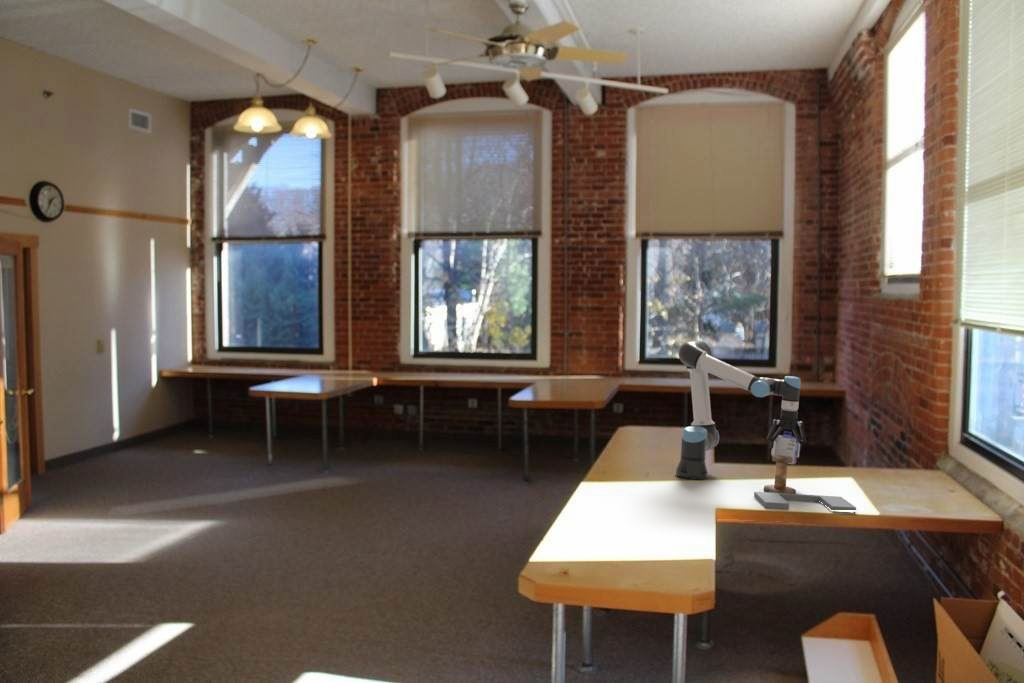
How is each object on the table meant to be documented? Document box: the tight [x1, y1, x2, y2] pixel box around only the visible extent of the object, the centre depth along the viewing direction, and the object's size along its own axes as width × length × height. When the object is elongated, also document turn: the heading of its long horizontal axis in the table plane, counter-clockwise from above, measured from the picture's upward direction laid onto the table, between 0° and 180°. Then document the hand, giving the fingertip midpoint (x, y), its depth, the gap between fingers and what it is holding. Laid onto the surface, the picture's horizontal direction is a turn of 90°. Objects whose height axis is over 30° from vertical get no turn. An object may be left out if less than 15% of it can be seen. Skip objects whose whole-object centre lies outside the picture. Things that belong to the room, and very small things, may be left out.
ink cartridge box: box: [775, 430, 799, 465], centre depth 408 cm, size 10×6×14 cm, turn 61°
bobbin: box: [763, 455, 797, 494], centre depth 396 cm, size 14×14×16 cm
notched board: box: [753, 491, 857, 511], centre depth 375 cm, size 38×18×2 cm, turn 89°
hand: (784, 456), depth 408 cm, fingers closed on ink cartridge box, 11 cm apart
